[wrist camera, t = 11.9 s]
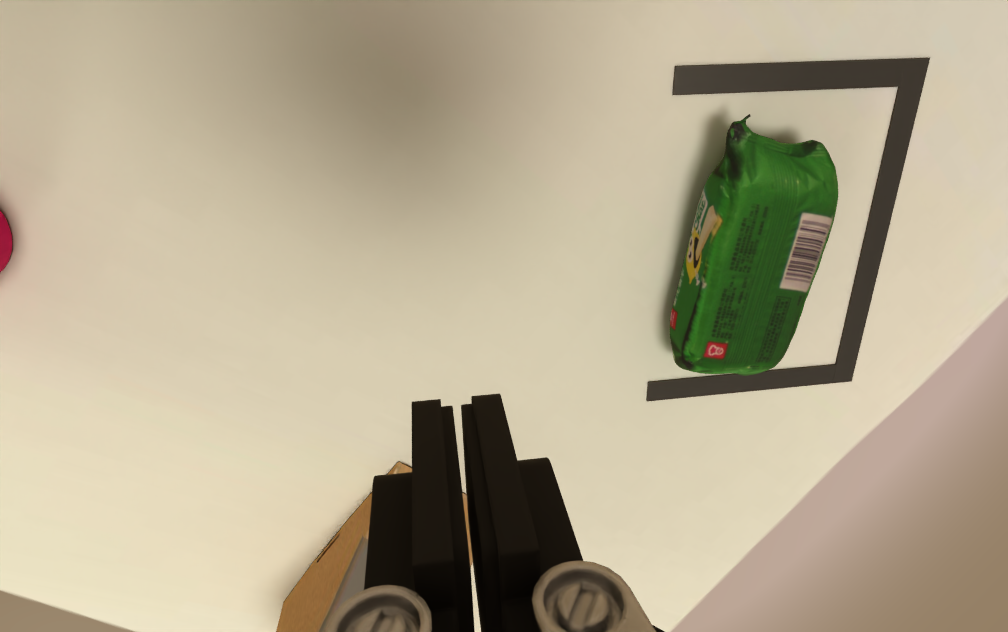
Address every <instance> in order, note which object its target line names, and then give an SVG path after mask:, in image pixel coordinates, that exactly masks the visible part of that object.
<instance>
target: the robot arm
mask: <svg viewBox="0 0 1008 632" xmlns="http://www.w3.org/2000/svg"><path fill="white" fill-rule="evenodd" d="M461 411H462V428H463V444H464V460H465V476H466V493H467V509H468V523H469V533H470V542H471V550H472V558H473V567H474V575H475V583H476V592H477V600H478V608H479V617H480V625H481V632H664V631H662V630H660V629H659V628H657V627H655V626H653V625H652V624H651V622H650V621H649V619H648V617H647V616H646V614H645V612H644V611H643V609H642V607H641V606H640V604H639V602H638V601H637V599H636V597H635V596H634V594H633V592H632V591H631V589H630V587H629V586H628V585H627V584H626V582H625V581H624V580H623V579H622V578H621V576H619V575H618V574H616V573H615V572H614V571H612V570H611V569H609V568H607V567H605V566H602V565H599V564H597V563H594V562H587V561H583V559H582V556H581V553H580V550H579V547H578V544H577V541H576V538H575V535H574V532H573V529H572V526H571V523H570V520H569V517H568V514H567V511H566V508H565V505H564V502H563V499H562V496H561V493H560V490H559V487H558V483H557V480H556V477H555V474H554V471H553V468H552V465H551V463H550V461H549V459H548V458H538V459H528V460H519V461H517V458H516V454H515V450H514V446H513V442H512V438H511V434H510V430H509V426H508V422H507V418H506V414H505V411H504V407H503V403H502V399H501V395H500V394H491V395H480V396H472V404H465V405H461ZM325 632H474V617H473V601H472V585H471V570H470V558H469V547H468V538H467V529H466V521H465V512H464V503H463V494H462V486H461V477H460V468H459V460H458V451H457V442H456V433H455V425H454V416H453V407H452V406H444V407H441V401H440V399H438V400H427V401H416V402H412V472H407V473H397V474H388V475H379V476H375V477H374V480H373V489H372V500H371V512H370V524H369V536H368V548H367V559H366V571H365V583H364V590H363V591H361V592H358V593H356V594H355V595H353V596H352V597H350V598H349V599H347V600H346V601H344V602H343V603H342V604H341V606H340V607H339V608H338V609H337V610H336V611H335V612H334V613H333V615H332V617H331V619H330V621H329V623H328V625H327V627H326V629H325Z"/></svg>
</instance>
